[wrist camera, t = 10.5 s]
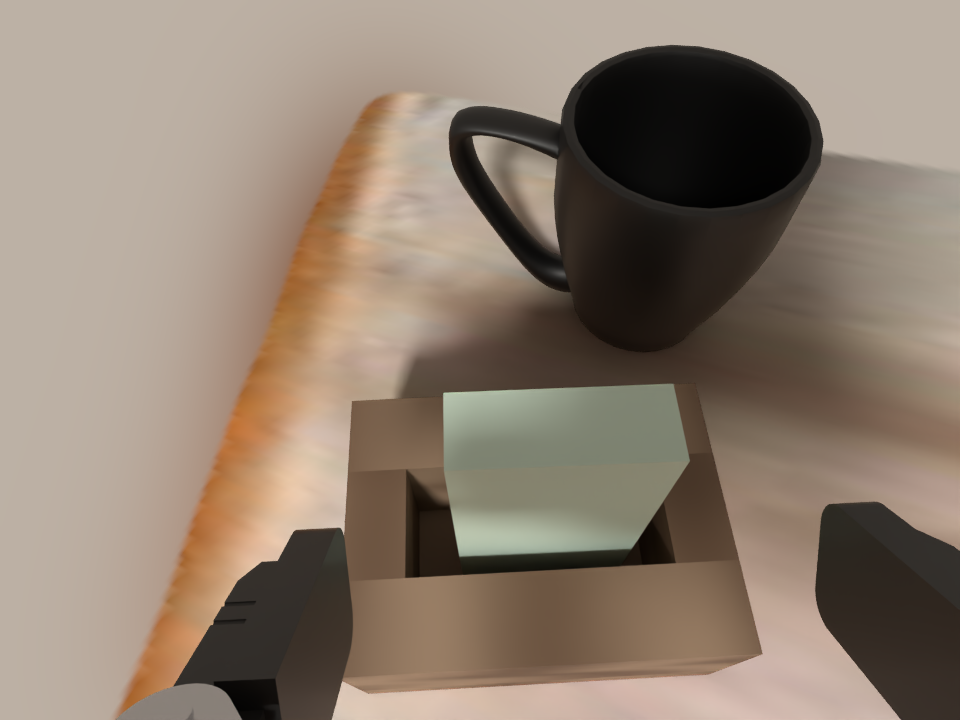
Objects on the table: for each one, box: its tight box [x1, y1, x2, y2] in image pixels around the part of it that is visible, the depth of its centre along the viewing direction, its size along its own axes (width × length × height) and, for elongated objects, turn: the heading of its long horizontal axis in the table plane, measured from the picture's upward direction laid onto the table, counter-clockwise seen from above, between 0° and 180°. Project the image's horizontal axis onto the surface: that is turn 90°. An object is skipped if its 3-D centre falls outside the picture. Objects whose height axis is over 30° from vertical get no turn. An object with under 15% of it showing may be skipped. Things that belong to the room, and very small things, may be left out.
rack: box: [342, 383, 762, 694], centre depth 21 cm, size 11×8×5 cm
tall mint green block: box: [443, 384, 690, 575], centre depth 18 cm, size 5×2×10 cm, turn 92°
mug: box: [449, 45, 823, 352], centre depth 25 cm, size 8×12×10 cm
